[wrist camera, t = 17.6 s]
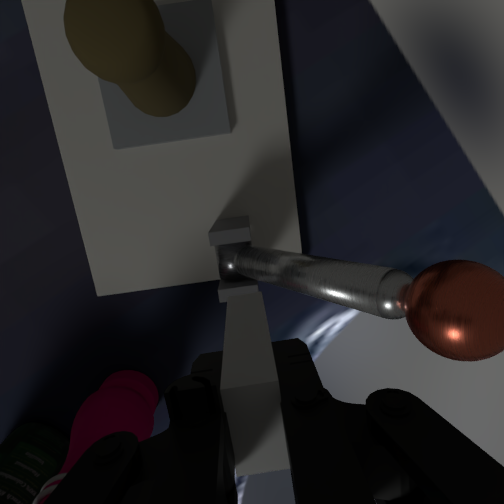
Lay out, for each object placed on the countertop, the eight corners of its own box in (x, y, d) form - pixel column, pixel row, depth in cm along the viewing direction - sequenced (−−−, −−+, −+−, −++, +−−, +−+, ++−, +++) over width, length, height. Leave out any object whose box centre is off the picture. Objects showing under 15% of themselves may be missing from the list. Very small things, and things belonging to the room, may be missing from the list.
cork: (171, 21, 27) (121, -81, 16) (209, 94, 28) (187, 45, 17) (106, 61, 27) (16, -11, 17) (147, 131, 29) (87, 105, 18)
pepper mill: (173, 412, 38) (94, 670, 18) (112, 430, 38) (-29, 701, 19) (148, 356, 36) (34, 572, 17) (85, 376, 36) (-100, 609, 17)
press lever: (209, 284, 28) (493, 398, 11) (200, 237, 27) (495, 286, 11) (248, 271, 30) (536, 351, 14) (241, 227, 29) (542, 254, 13)
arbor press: (103, 291, 34) (58, 328, 26) (30, -2, 28) (-59, -73, 20) (301, 263, 34) (318, 292, 26) (267, -38, 28) (276, -126, 20)
